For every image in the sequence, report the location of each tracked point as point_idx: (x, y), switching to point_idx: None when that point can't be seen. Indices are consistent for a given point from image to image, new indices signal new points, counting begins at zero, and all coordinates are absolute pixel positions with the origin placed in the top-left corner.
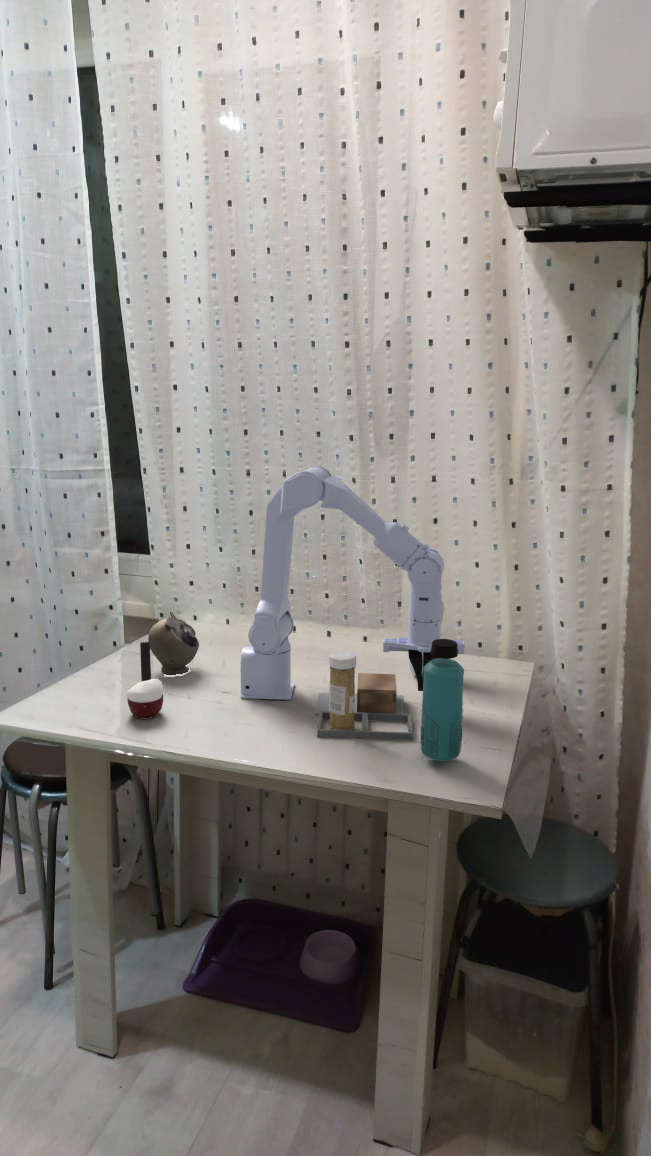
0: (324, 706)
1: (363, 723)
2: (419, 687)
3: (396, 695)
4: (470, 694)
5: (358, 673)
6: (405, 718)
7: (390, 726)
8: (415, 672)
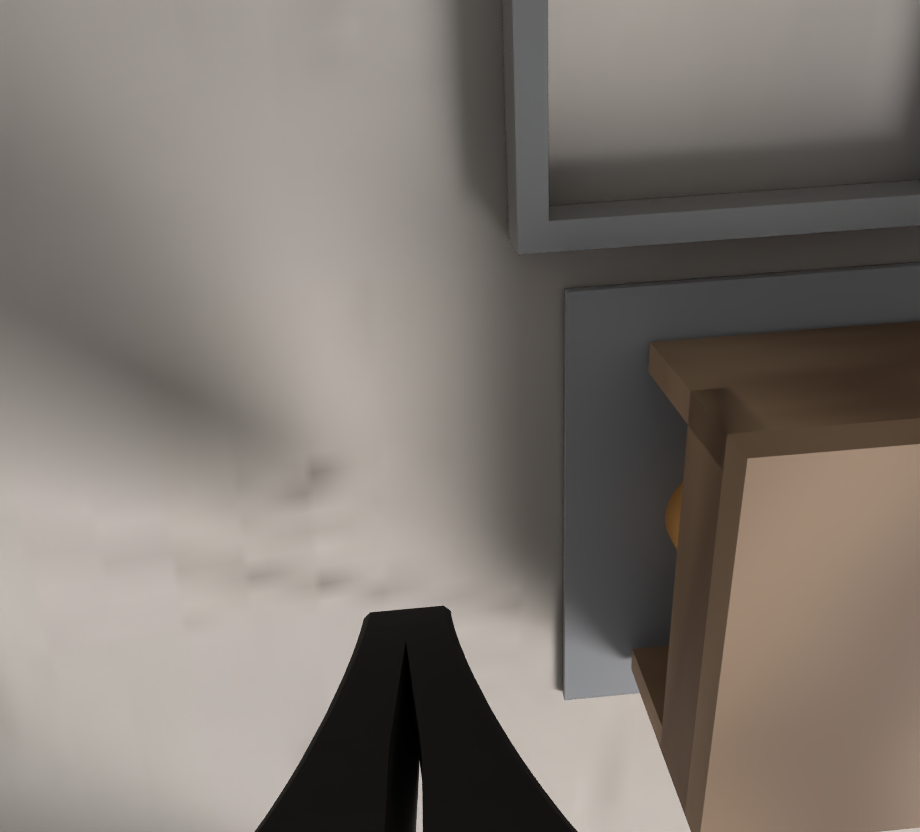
0: None
1: None
2: (439, 627)
3: (611, 689)
4: (32, 805)
5: None
6: (563, 211)
7: (719, 54)
8: (525, 773)
